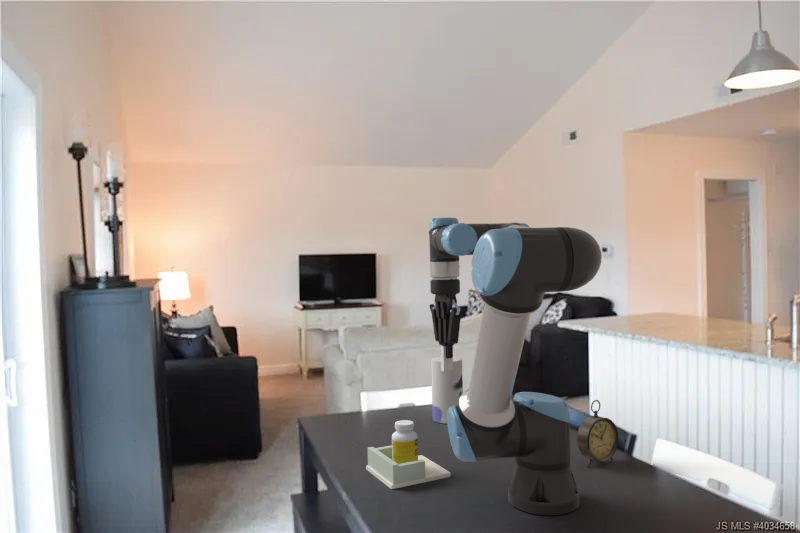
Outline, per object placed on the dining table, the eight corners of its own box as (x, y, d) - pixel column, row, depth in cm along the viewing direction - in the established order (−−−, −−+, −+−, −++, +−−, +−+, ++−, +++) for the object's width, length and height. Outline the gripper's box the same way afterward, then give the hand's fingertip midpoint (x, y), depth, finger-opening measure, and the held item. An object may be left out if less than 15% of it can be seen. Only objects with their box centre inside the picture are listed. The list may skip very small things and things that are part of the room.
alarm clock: (589, 470, 152) (588, 405, 152) (573, 464, 157) (572, 400, 157) (620, 462, 158) (619, 399, 157) (603, 456, 162) (602, 395, 162)
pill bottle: (415, 474, 150) (414, 426, 150) (389, 472, 151) (388, 425, 151) (420, 465, 156) (419, 419, 156) (395, 463, 158) (394, 418, 157)
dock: (450, 476, 150) (450, 454, 150) (391, 489, 143) (390, 465, 143) (421, 458, 164) (421, 438, 164) (366, 469, 157) (365, 447, 157)
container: (464, 423, 195) (463, 360, 195) (433, 424, 196) (431, 361, 195) (462, 415, 205) (460, 355, 205) (431, 415, 206) (430, 356, 205)
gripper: (471, 278, 153) (473, 373, 154) (444, 277, 165) (446, 364, 166) (445, 279, 150) (447, 376, 151) (420, 278, 162) (422, 367, 162)
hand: (447, 370), depth 158 cm, fingers closed
